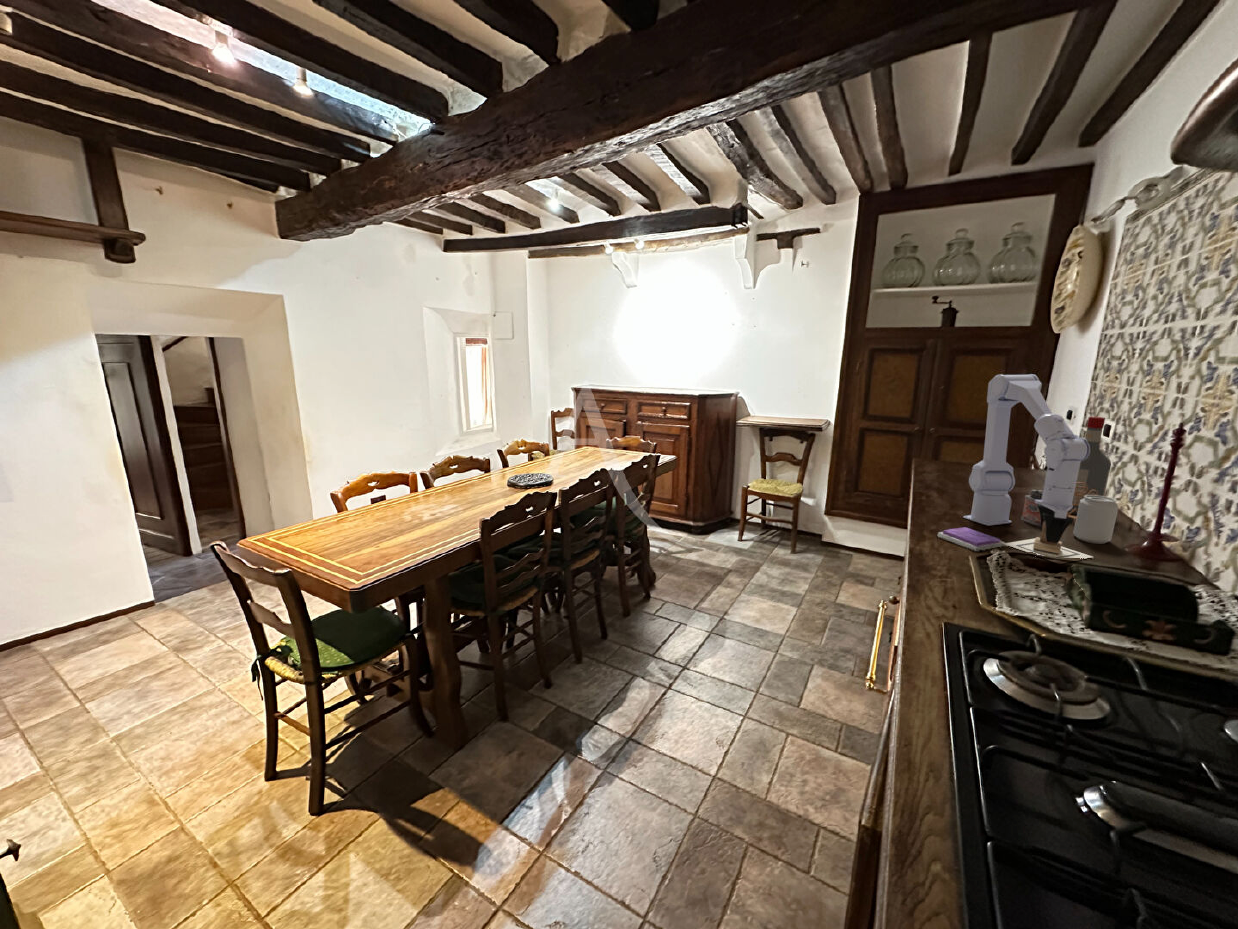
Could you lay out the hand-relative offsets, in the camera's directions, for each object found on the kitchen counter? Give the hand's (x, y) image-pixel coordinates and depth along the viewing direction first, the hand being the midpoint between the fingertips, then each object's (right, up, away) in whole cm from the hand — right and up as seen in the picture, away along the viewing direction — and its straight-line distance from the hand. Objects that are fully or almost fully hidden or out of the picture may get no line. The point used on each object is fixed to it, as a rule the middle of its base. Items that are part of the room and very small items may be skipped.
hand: (1049, 537), depth 123 cm
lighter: (+15, +1, +21) cm, 26 cm away
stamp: (0, -3, +1) cm, 4 cm away
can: (+19, -2, +8) cm, 20 cm away
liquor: (+38, +4, +32) cm, 49 cm away
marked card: (0, -4, +1) cm, 4 cm away
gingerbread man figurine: (+28, +1, +23) cm, 36 cm away
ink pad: (-15, -2, +8) cm, 17 cm away
